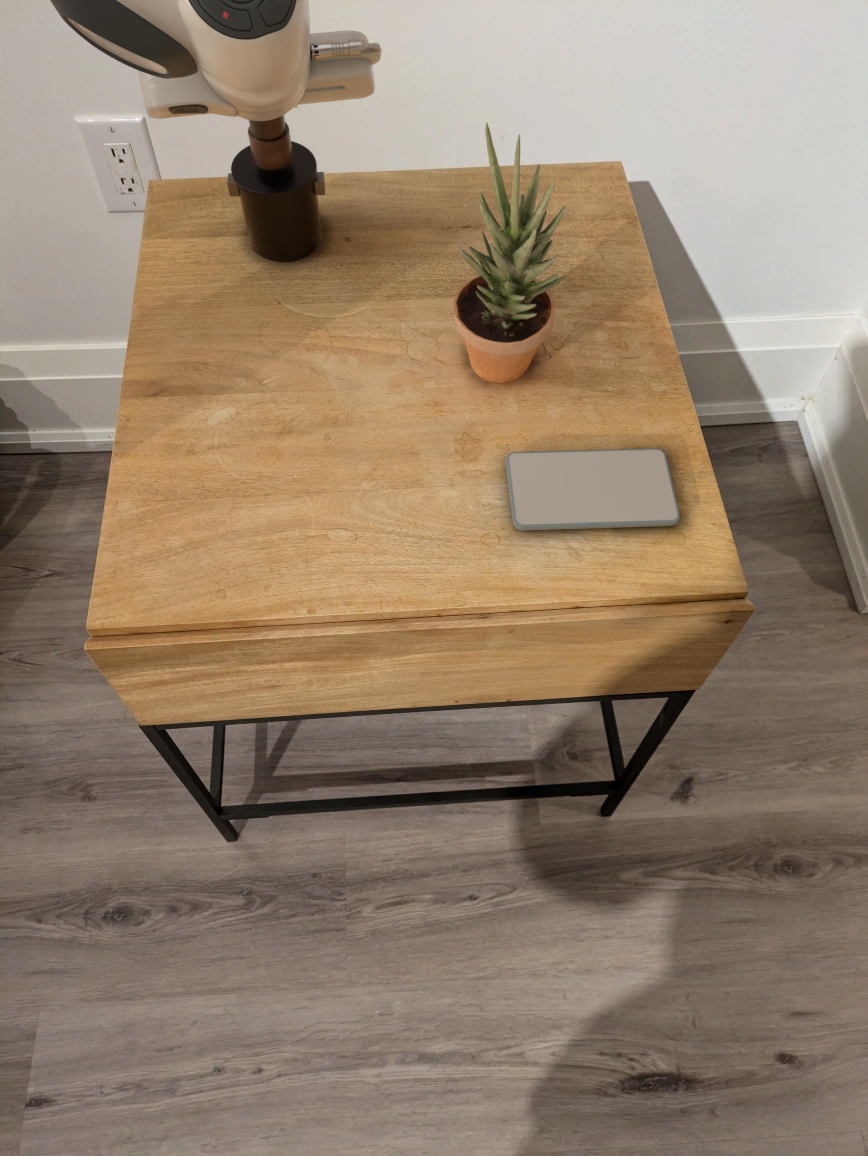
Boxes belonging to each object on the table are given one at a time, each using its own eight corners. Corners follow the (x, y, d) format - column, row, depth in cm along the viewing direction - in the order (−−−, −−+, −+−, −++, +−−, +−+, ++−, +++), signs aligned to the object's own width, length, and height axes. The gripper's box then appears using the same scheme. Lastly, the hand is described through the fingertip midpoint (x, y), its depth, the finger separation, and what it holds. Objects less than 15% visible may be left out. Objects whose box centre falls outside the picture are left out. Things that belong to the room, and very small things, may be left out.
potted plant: (440, 335, 86) (447, 98, 65) (528, 318, 87) (564, 81, 66) (467, 409, 82) (485, 181, 60) (560, 390, 83) (610, 160, 61)
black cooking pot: (238, 265, 91) (221, 194, 83) (243, 211, 95) (228, 139, 87) (329, 263, 91) (321, 192, 83) (330, 210, 95) (323, 138, 88)
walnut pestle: (251, 171, 84) (231, 68, 75) (254, 145, 85) (234, 43, 77) (292, 170, 84) (277, 68, 75) (293, 144, 86) (279, 42, 77)
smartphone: (682, 522, 75) (514, 527, 74) (679, 528, 75) (512, 533, 75) (664, 446, 79) (504, 450, 78) (662, 453, 79) (503, 457, 79)
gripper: (378, -3, 67) (367, 53, 80) (115, 21, 65) (148, 74, 78) (389, 86, 69) (376, 126, 82) (133, 111, 67) (162, 149, 80)
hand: (263, 101), depth 80 cm, fingers closed on walnut pestle, 3 cm apart
